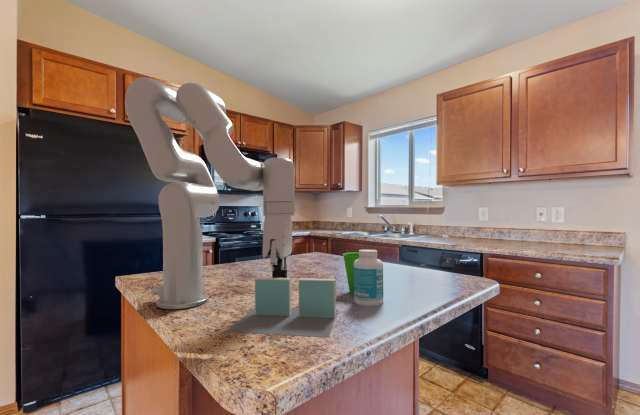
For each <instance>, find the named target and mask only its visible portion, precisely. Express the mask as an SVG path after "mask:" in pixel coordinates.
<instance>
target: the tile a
mask: <svg viewBox="0 0 640 415" xmlns="http://www.w3.org/2000/svg"><path fill="white" fill-rule="evenodd" d="M254 308H255V315H278V316H290V315H291V308H292V278H291V277H287V278H272V277H267V276H266V277H264V276H262V277H259V276H257V277H255V278H254Z"/></svg>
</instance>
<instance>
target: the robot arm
mask: <svg viewBox="0 0 640 415" xmlns="http://www.w3.org/2000/svg"><path fill="white" fill-rule="evenodd" d="M124 106H125V107H124V108H125V112H126V116H127V118H128V121H129V123H130V125H131V127H132V128H133V130H134V133H135V134H136V136H137V139H138V141H139V143H140V145H141V148H142V151H143V153H144V156H145V157H146V158H145V159H146V160H147V163H148V165H149V168H150V170H151V172H152V174H153V175H154V177H155V178H156V179H158V180H159V181H162V182H166V183H168V184H166V185H165V186H164V187H162V189H161V190H160V192H159V195H158V200H157V201H158V209H159V213H160V218H161V224H162V226H161V227H162V261H163V262H162V277H163V278H162V285H154V286H153V287H152V289H151V290H150V295H155V296H156V295H158V296H159V298H158V299H157V300H156V302H155V303H156V304H155V305H156V307H158V308H160V309H164V310H181V309H188V308H193V307H194V308H195V307H197V306H201V305H203V304H206V303H207V302H208V301H209V299H210V295H209V294H208V293H206V292H204V290H203V289H204V288H203V286H204V284H203V282H204V281H203V280H204V276H203V272H204V270H203V269H204V268H203V266H204V265H203V261H204V260H203V258H204V257H203V230H202V226H201V224H200V220H199V219H200V218H209V217H212V216H213V215H215V214H216V213H217V212H218V210H219V208H220V203H221V202H220V200H221V199H220V195H219V191H218V189H217V187H216V184H215V182H214V180H213V178H212V175H211V173H210V172H209V169H208V167H207V164H206V163H205V161H204V160H203V159H202V158H201V156H199V155H198V154H196V153H193V152H190V151H187V150H184V149H182V148H181V147H180V146H179V144H178V142H177V141H176V138H175V135H174V134H173V131H172V129H171V128H170V126H169V125H168V124H167V122H166V121H165V120H164V119H163V118H165V119H168V120H170V121H172V122H175V123H181V124H188V125H189V124H190V125H192V127H193V128H194V129H195V131H196V132H197V134H198V135H199V137H200V138H201V140H202V141H203V149H204V154H205V156H206V159H207V160H208V163H209V164H210V165H211V167H212V169H213V170H214V171H215V172H216V174H217V175H218V176H219V177H220V179H221V180H222V181H223V182H224V183H225V184H227V186H229V187H232V188H234V189H240V190H247V191H253V192H256V191H262V195H263V196H262V200H263V201H262V206H263V208H262V210H263V212H262V213H263V215H262V216H263V217H264V222H263V228H262V229H263V231H262V258H263V259H269V258H270V260H269V261H270V262H269V264H270V265H271V269H272V270H271V273H272V274H271V275H272V277H271V278H288V257H289V255H291V254H292V252H293V222H292V217H295V216H296V214H295V213H296V210H295V208H296V207H295V206H296V205H295V204H296V203H295V201H296V199H295V163H294V162H293V160H291V159H289V158H286V157H270V158H267V159H265V160H264V161H263V162H261V161H257V160H255V159H252V158H249V157H246V156H244V155H243V154H242V153H241V151H240V149H239V148H238V147H237V146H236V144H235V143H234V141H233V140H232V138H231V137H230V136H232V134H233V132H234V124H233V123H232V121H231V120H230V118H229V117H228V116H227V108H226V105H225V102H224V101H223V98H221V97H220V96H218V94H215V93H214V92H212V91H211V90H210V89H208V88H206V87H204V86H202V85H200V84H198V83H195V82H187V83H183V84H181V85H180V86H179V87H178V89H177V90H176V89H175V88H173V87H172V86H169V85H168V84H166V83H164V82H162V81H159V80H158V79H154V78H151V77H138V78H135V79H134V80H132V81H131V83H130V84H129V86H128V88H127V90H126V92H125V98H124Z"/></svg>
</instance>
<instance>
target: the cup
mask: <svg viewBox="0 0 640 415" xmlns="http://www.w3.org/2000/svg"><path fill="white" fill-rule="evenodd" d="M342 256H343V259H344V267H345V273H346V279H347V284H348V290H349V293H350V294H353V295H354V261H355V260H357V259H359V258H360V256H359V251H358V252H354V251H353V252H344V253H342Z"/></svg>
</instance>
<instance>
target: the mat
mask: <svg viewBox="0 0 640 415" xmlns="http://www.w3.org/2000/svg"><path fill="white" fill-rule="evenodd" d="M338 312H339V309H336V317H337V315H338ZM336 317H335V318H324V317H301V316H299V307H296V308H294V307H291V315H290V316H278V315H255V307H254V308H252V309H251V310H250V311H249V312H247V313H246V314H245V315H244V316H243V317H242V318H241V317H240V319H239V320H238V321H237V322H235V323H234V324H233V325H232V326H230V327H229V328H228V329H227V330H226V331H225V333H238V334H239V333H240V334H257V335H258V334H259V335H275V336H293V337H298V336H299V337H315V338H330V335H331V332H332V330H333V327H334V323H335V320H336Z"/></svg>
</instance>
